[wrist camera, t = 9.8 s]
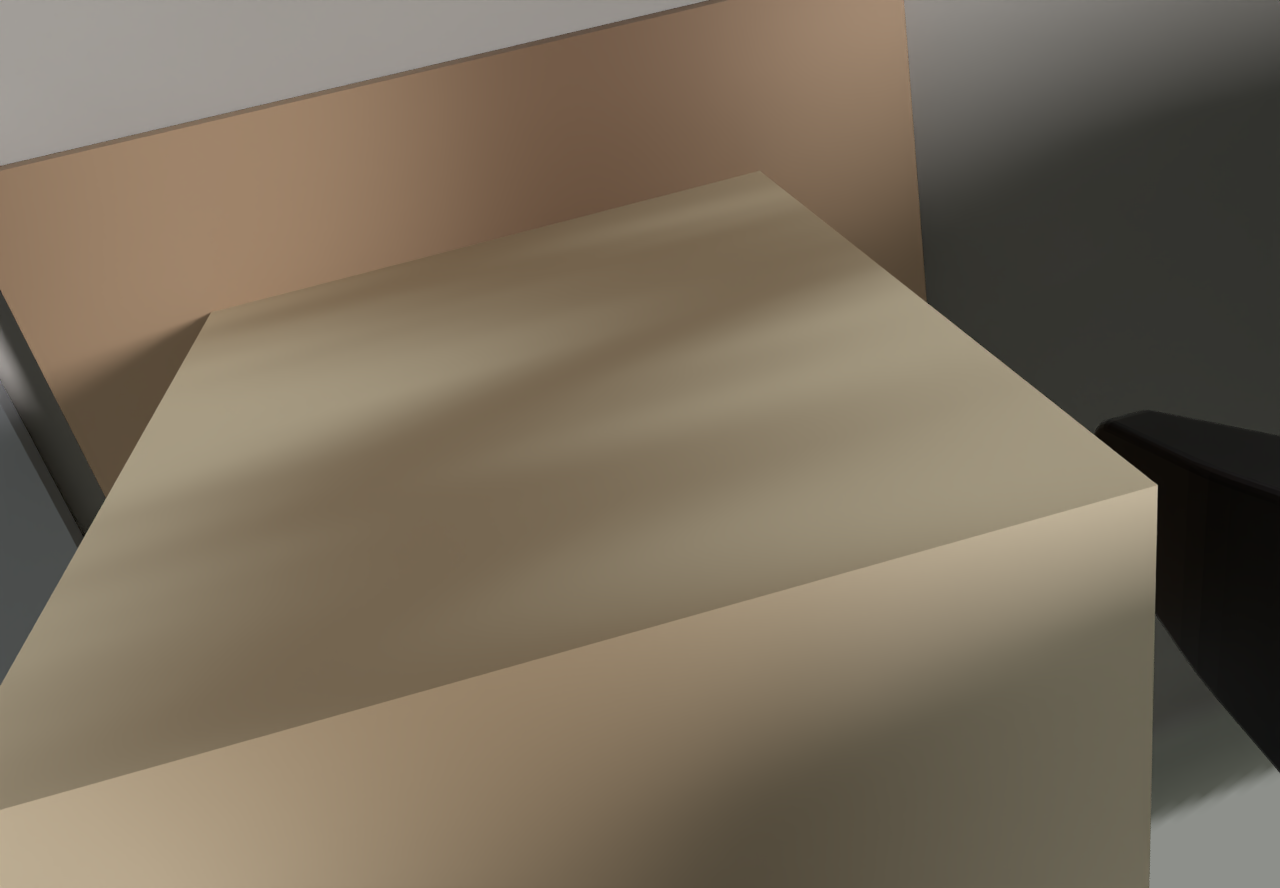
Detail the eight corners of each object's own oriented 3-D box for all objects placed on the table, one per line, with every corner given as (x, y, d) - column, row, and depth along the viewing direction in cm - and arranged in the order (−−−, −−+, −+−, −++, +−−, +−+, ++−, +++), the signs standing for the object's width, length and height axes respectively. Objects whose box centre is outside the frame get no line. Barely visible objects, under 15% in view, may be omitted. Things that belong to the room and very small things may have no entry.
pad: (887, -42, 9) (900, -40, 9) (944, 667, 13) (955, 682, 13) (-39, 175, 9) (-54, 183, 9) (295, 846, 13) (292, 867, 12)
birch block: (760, 171, 10) (1156, 483, 4) (829, 609, 12) (1145, 1165, 7) (211, 312, 9) (-83, 833, 4) (391, 734, 12) (353, 1416, 6)
